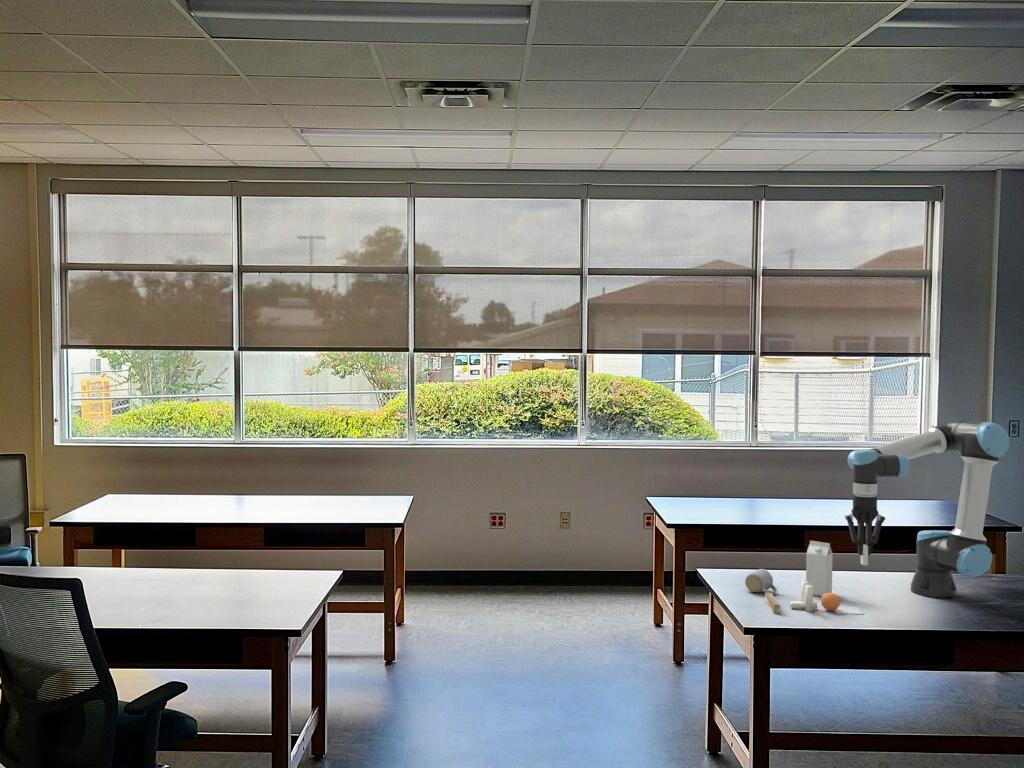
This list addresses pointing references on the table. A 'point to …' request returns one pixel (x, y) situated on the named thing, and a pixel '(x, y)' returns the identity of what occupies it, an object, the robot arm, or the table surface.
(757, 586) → the ceramic mug
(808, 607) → the pin
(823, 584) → the milk carton
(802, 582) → the pin
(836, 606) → the ball
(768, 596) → the bar
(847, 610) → the white square tile
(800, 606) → the pin front
